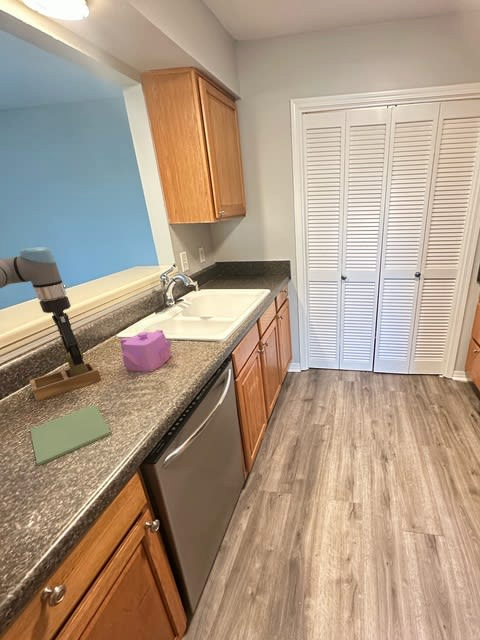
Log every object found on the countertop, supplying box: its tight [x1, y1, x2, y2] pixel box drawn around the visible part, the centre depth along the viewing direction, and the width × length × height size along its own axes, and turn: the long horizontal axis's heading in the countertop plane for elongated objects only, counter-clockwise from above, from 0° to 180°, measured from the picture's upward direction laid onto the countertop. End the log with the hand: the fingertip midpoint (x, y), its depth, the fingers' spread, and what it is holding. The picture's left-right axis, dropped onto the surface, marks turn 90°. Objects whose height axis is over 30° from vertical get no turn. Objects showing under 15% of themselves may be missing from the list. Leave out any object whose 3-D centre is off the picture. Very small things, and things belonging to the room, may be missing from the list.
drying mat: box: [29, 403, 112, 466], centre depth 87 cm, size 18×16×1 cm
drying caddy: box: [29, 360, 102, 403], centre depth 110 cm, size 10×18×4 cm, turn 132°
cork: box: [64, 350, 89, 377], centre depth 112 cm, size 6×6×11 cm
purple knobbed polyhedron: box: [120, 329, 173, 373], centre depth 122 cm, size 17×17×12 cm
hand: (75, 357), depth 110 cm, fingers open, 13 cm apart
